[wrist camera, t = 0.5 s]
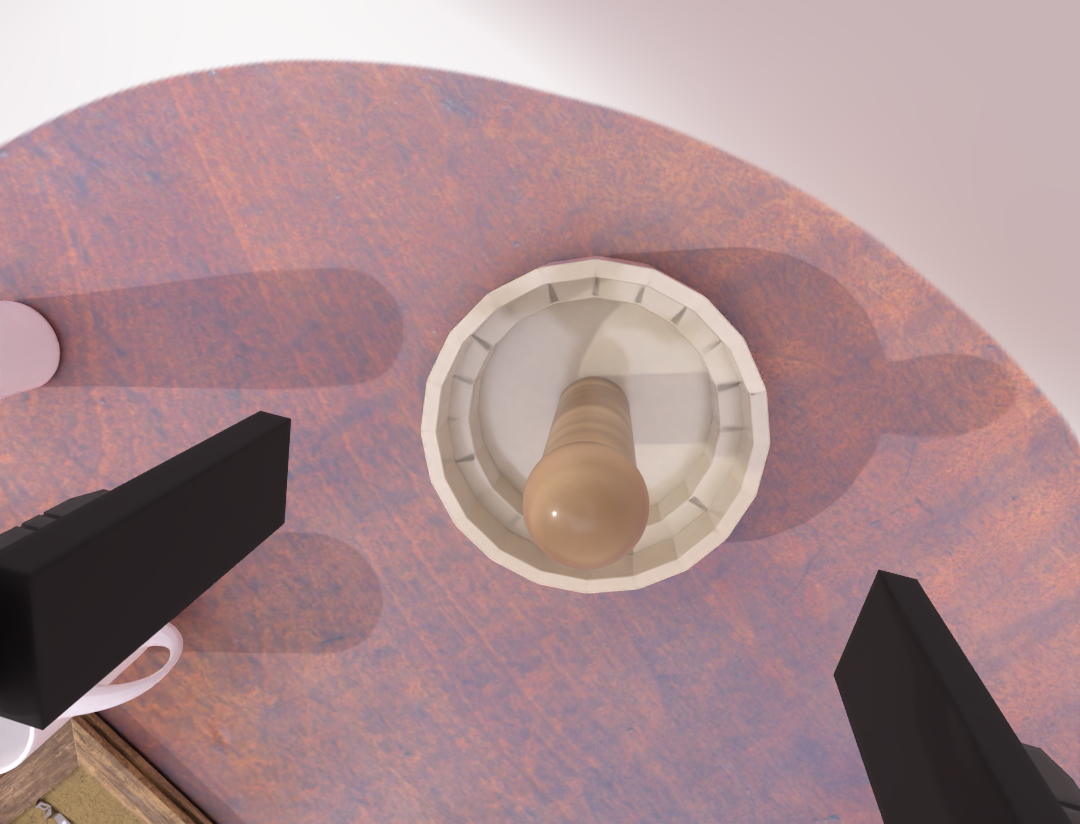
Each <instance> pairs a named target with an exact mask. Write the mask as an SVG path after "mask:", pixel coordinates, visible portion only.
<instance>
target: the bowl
mask: <svg viewBox="0 0 1080 824" xmlns="http://www.w3.org/2000/svg"><path fill="white" fill-rule="evenodd" d="M591 376H594V377H602V378H606V379H608V380H610V381H612V382H614V383H615V384H616V385H618V386H619V387H620V388H621V389H622V391H623V392H624V393H625V395H626V397H627V399H628V402H629V407H630V415H631V423H632V431H633V440H634V448H635V456H636V464H637V468H638V469H639V471H640V473H641V475H642V476H643V478H644V481H645V483H646V486H647V490H648V494H649V517H648V522H647V525H646V528H645V531H644V533H643V535H642V537H641V539H640V540H639V542H638V543H637V545H636V546H635V547H634V548H633V549H632V550H631V551H630V552H629V553H628V554H627V555H626V556H625V557H623V558H622V559H620V560H619V561H617V562H615V563H613V564H610V565H608V566H604V567H601V568H596V569H577V568H572V567H568V566H565V565H563V564H560V563H558V562H556V561H555V560H553V559H551V558H550V557H548V556H547V555H546V554H545V553H543V552H542V551H541V550H540V549H539V548H538V546H537V545H536V544H535V542H534V541H533V539H532V538H531V536H530V534H529V532H528V530H527V528H526V525H525V521H524V517H523V510H522V500H523V492H524V488H525V484H526V482H527V479H528V477H529V475H530V473H531V472H532V470H533V468H534V467H535V466H536V464H537V463H538V462H539V461H540V460H541V459H542V456H543V452H544V449H545V446H546V442H547V439H548V436H549V432H550V429H551V425H552V422H553V419H554V415H555V412H556V409H557V405H558V402H559V399H560V397H561V395H562V393H563V392H564V390H565V389H566V388H567V387H568V386H569V385H570V384H572V383H573V382H575V381H576V380H579V379H581V378H585V377H591ZM421 437H422V442H423V447H424V452H425V456H426V461H427V466H428V471H429V476H430V481H431V483H432V485H433V486H434V488H435V490H436V492H437V494H438V495H439V497H440V499H441V501H442V502H443V504H444V506H445V508H446V510H447V511H448V513H449V515H450V517H451V519H452V520H453V522H454V524H455V525H456V527H457V528H458V529H459V530H460V531H461V532H463V533H464V534H465V535H466V536H467V537H468V538H469V539H470V540H471V541H472V542H473V543H474V544H475V545H476V546H477V547H478V548H479V549H480V550H481V551H482V552H483V553H484V554H485V555H487V556H488V557H489V558H490V559H491V560H492V561H494V562H496V563H498V564H500V565H502V566H504V567H506V568H507V569H509V570H511V571H513V572H515V573H517V574H519V575H521V576H523V577H525V578H527V579H529V580H531V581H533V582H534V583H537V584H540V585H545V586H550V587H555V588H560V589H565V590H570V591H575V592H580V593H585V594H586V593H600V592H612V591H624V590H636V589H640V588H643V587H645V586H648V585H651V584H653V583H656V582H658V581H661V580H664V579H666V578H669V577H671V576H674V575H677V574H679V573H682V572H684V571H686V570H688V569H689V568H691V567H692V566H693V565H694V564H696V563H697V562H698V561H699V560H701V559H702V558H703V557H705V556H706V555H707V554H708V553H710V552H711V551H712V550H713V549H715V548H716V547H717V546H719V545H720V544H721V543H722V542H724V541H725V540H726V539H727V538H728V537H729V535H730V534H731V532H732V531H733V529H734V528H735V526H736V525H737V523H738V522H739V520H740V519H741V517H742V516H743V514H744V513H745V511H746V510H747V508H748V507H749V506H750V504H751V503H752V501H753V500H754V498H755V497H756V495H757V491H758V488H759V484H760V480H761V477H762V473H763V470H764V466H765V462H766V459H767V455H768V451H769V448H770V430H769V416H768V401H767V391H766V387H765V385H764V383H763V380H762V378H761V376H760V373H759V371H758V369H757V366H756V364H755V362H754V359H753V357H752V355H751V352H750V350H749V348H748V346H747V343H746V341H745V340H744V338H743V337H742V335H741V334H740V333H739V332H738V331H737V330H736V329H735V328H734V327H733V326H732V325H731V324H730V322H729V321H728V320H727V319H726V318H725V317H724V316H723V315H722V314H721V313H720V312H719V310H718V309H717V308H716V307H715V306H714V305H713V304H712V303H711V302H710V301H709V300H708V299H707V297H705V296H704V295H702V294H701V293H699V292H698V291H696V290H695V289H693V288H691V287H690V286H688V285H686V284H684V283H682V282H680V281H679V280H677V279H675V278H673V277H671V276H669V275H667V274H666V273H664V272H662V271H660V270H658V269H656V268H655V267H653V266H651V265H648V264H645V263H639V262H633V261H628V260H622V259H616V258H610V257H605V256H590V257H583V258H577V259H570V260H564V261H557V262H550V263H547V264H545V265H542V266H540V267H538V268H536V269H534V270H532V271H531V272H529V273H527V274H525V275H523V276H521V277H519V278H517V279H515V280H513V281H511V282H509V283H507V284H505V285H503V286H501V287H499V288H497V289H495V290H493V291H491V292H489V293H488V294H487V295H486V296H485V297H484V298H483V299H482V300H481V301H480V302H479V303H478V304H477V305H476V306H475V307H474V308H473V309H472V310H471V311H470V312H469V313H468V314H467V315H466V316H465V317H464V318H463V319H462V320H461V321H460V322H459V323H458V324H457V325H456V326H455V327H454V328H453V329H452V330H451V332H450V333H449V335H448V337H447V339H446V341H445V343H444V345H443V347H442V349H441V351H440V353H439V355H438V358H437V360H436V362H435V364H434V366H433V368H432V370H431V372H430V374H429V376H428V378H427V382H426V390H425V398H424V407H423V415H422V423H421Z"/></svg>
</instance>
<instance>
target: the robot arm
mask: <svg viewBox="0 0 1080 824" xmlns="http://www.w3.org/2000/svg"><path fill="white" fill-rule="evenodd" d="M290 427H291V419H290V418H286V417H282V416H278V415H274V414H270V413H266V412H262V411H259V412H257V413H255V414H254V415H252V416H250V417H248V418H246V419H244V420H242V421H240V422H239V423H237V424H235V425H233V426H231V427H229V428H227V429H225V430H224V431H222V432H220V433H218V434H216V435H214V436H212V437H210V438H209V439H207V440H205V441H203V442H201V443H199V444H197V445H195V446H194V447H192V448H190V449H188V450H186V451H184V452H182V453H180V454H179V455H177V456H175V457H173V458H171V459H169V460H167V461H165V462H164V463H162V464H160V465H158V466H156V467H154V468H152V469H150V470H149V471H147V472H145V473H143V474H141V475H139V476H137V477H135V478H134V479H132V480H130V481H128V482H126V483H124V484H122V485H120V486H119V487H117V488H115V489H113V490H111V491H108V490H104V489H103V490H100V491H96V492H92V493H89V494H85V495H82V496H78V497H74V498H71V499H69V500H67V501H65V502H63V503H61V504H59V505H57V506H55V507H53V508H51V509H49V510H47V511H45V512H44V514H43V515H38V516H36V517H34V518H32V519H30V520H28V521H26V522H24V523H22V526H21V527H18V526H16V527H14V528H12V529H10V530H8V531H6V532H4V533H2V534H0V717H3V718H6V719H9V720H12V721H15V722H18V723H21V724H25V725H28V726H31V727H34V728H37V729H40V730H44V729H45V728H46V727H48V726H49V725H50V724H51V723H52V722H53V721H55V720H56V719H57V718H58V717H59V716H60V715H62V714H63V713H64V712H65V711H66V710H67V709H69V708H70V707H71V706H72V705H73V704H74V703H75V702H77V701H78V700H79V699H80V698H81V697H82V696H84V695H85V694H86V693H87V692H88V691H89V690H91V689H92V688H93V687H94V686H95V685H96V684H98V683H99V682H100V681H101V680H102V679H103V678H105V677H106V676H107V675H108V674H109V673H110V672H112V671H113V670H114V669H115V668H116V667H117V666H119V665H120V664H121V663H122V662H123V661H124V660H126V659H127V658H128V657H129V656H130V655H131V654H133V653H134V652H135V651H136V650H137V649H138V648H140V647H141V646H142V645H143V644H144V643H145V642H147V641H148V640H149V639H150V638H151V637H152V636H154V635H155V634H156V633H157V632H158V631H159V630H161V629H162V628H163V627H164V626H165V625H166V624H168V623H169V622H170V621H171V620H172V619H173V618H175V617H176V616H177V615H178V614H179V613H180V612H182V611H183V610H184V609H185V608H186V607H187V606H189V605H190V604H191V603H192V602H193V601H194V600H196V599H197V598H198V597H199V596H200V595H201V594H203V593H204V592H205V591H206V590H207V589H208V588H210V587H211V586H212V585H213V584H214V583H215V582H217V581H218V580H219V579H220V578H221V577H222V576H224V575H225V574H226V573H227V572H228V571H229V570H230V569H232V568H233V567H234V566H235V565H236V564H237V563H239V562H240V561H241V560H242V559H243V558H244V557H246V556H247V555H248V554H249V553H250V552H251V551H253V550H254V549H255V548H256V547H257V546H258V545H260V544H261V543H262V542H263V541H264V540H265V539H267V538H268V537H269V536H270V535H271V534H272V533H274V532H275V531H276V530H277V529H278V528H279V527H281V526H282V525H283V524H284V523H285V507H286V491H287V475H288V459H289V443H290ZM834 677H835V680H836V683H837V686H838V689H839V692H840V695H841V698H842V701H843V704H844V707H845V710H846V713H847V716H848V719H849V722H850V725H851V728H852V730H853V733H854V736H855V739H856V742H857V745H858V748H859V751H860V754H861V757H862V760H863V763H864V766H865V769H866V772H867V775H868V778H869V781H870V784H871V787H872V789H873V792H874V795H875V798H876V801H877V804H878V807H879V810H880V813H881V816H882V819H883V822H884V824H1080V789H1079V788H1078V786H1077V785H1076V783H1075V782H1074V780H1073V779H1072V778H1071V777H1070V776H1069V775H1068V774H1067V773H1066V772H1065V771H1064V770H1063V769H1062V768H1061V767H1059V766H1058V765H1057V764H1056V763H1055V762H1054V761H1053V760H1052V759H1051V758H1050V757H1049V756H1048V755H1047V754H1046V753H1045V752H1044V751H1043V750H1042V749H1041V748H1037V747H1034V746H1030V745H1027V744H1023V743H1021V742H1020V741H1019V739H1018V737H1017V736H1016V734H1015V733H1014V731H1013V730H1012V728H1011V726H1010V725H1009V723H1008V722H1007V720H1006V719H1005V717H1004V715H1003V714H1002V712H1001V711H1000V709H999V708H998V706H997V704H996V703H995V701H994V700H993V698H992V697H991V695H990V693H989V692H988V690H987V689H986V687H985V686H984V684H983V683H982V681H981V679H980V678H979V676H978V675H977V673H976V672H975V670H974V668H973V667H972V665H971V664H970V662H969V661H968V659H967V657H966V656H965V654H964V653H963V651H962V650H961V648H960V646H959V645H958V643H957V642H956V640H955V639H954V637H953V635H952V634H951V632H950V631H949V629H948V628H947V626H946V624H945V623H944V621H943V620H942V618H941V617H940V615H939V613H938V612H937V610H936V609H935V607H934V606H933V604H932V603H931V601H930V599H929V598H928V596H927V595H926V593H925V592H924V590H923V588H922V587H921V585H920V584H919V582H918V581H917V579H913V578H909V577H905V576H901V575H897V574H894V573H890V572H886V571H882V570H878V572H877V575H876V577H875V579H874V582H873V584H872V586H871V589H870V591H869V593H868V596H867V598H866V600H865V603H864V605H863V607H862V610H861V612H860V614H859V617H858V619H857V621H856V624H855V626H854V628H853V631H852V633H851V635H850V638H849V640H848V642H847V645H846V647H845V649H844V652H843V654H842V656H841V659H840V661H839V663H838V666H837V668H836V670H835V673H834Z"/></svg>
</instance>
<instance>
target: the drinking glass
mask: <svg viewBox="0 0 1080 824" xmlns="http://www.w3.org/2000/svg"><path fill="white" fill-rule="evenodd" d="M59 360H60V347H59V343H58V339H57V336H56V334H55V332H54V330H53V328H52V327H51V325H50V324H49V323H48V321H47V320H46V319H45V318H44V317H43V316H42V315H41V314H40V313H38V312H37V311H36V310H34V309H32V308H31V307H29V306H27V305H24V304H22V303H19V302H14V301H4V300H2V301H0V399H3V398H6V397H9V396H11V395H15V394H18V393H22V392H26V391H29V390H33V389H36V388H38V387H40V386H42V385H44V384H45V383H46V382H48V381H49V380H50V379H51V378H52V377H53V375H54V374H55V372H56V370H57V368H58V365H59Z"/></svg>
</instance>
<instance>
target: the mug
mask: <svg viewBox="0 0 1080 824" xmlns="http://www.w3.org/2000/svg"><path fill="white" fill-rule="evenodd" d="M149 646H164V647H167V648H168V649H169V650H170V658H169V660H168V662H167V663H166V665H165V666H164V667H163V668H162V669H160V670H159V671H157V672H156V673H154V674H152V675H150V676H148V677H146V678H143V679H140V680H138V681H134V682H130V683H124V684H118V685H108V684H109V683H110V682H112V681H113V680H114V679H115V678H116V677H117V676H118V675H119V674H120V673H122V672H123V671H124V670H125V669H126V668H127V667H128V666H129V665H130V664H131V663H133V662H134V661H135V660H136V659H137V658H138V657H139V656H140V655H141V654H142V653H143V652H144V651H145V650H146V649H147V648H148V647H149ZM182 650H183V639H182V636H181V634H180V632H179V631H178V630H177V629H176V627H175V626H173V625H172V624H171V623H170V622H169V623H168V624H166V625H165V626H164V627H163V628H162V629H161V630H159V631H158V632H157V633H156V634H155V635H154V636H152V637H151V638H150V639H149V640H148V641H147V642H145V643H144V644H143V645H142V646H141V647H140V648H138V649H137V650H136V651H135V652H134V653H133V654H131V655H130V656H129V657H128V658H127V659H126V660H124V661H123V662H122V663H121V664H120V665H119V666H117V667H116V668H115V669H114V670H113V671H112V672H110V673H109V674H108V675H107V676H106V677H105V678H103V679H102V680H101V681H100V682H99V683H98V684H96V685H95V686H94V687H93V688H92V689H91V690H89V691H88V692H87V693H86V694H85V695H84V696H82V697H81V698H80V699H79V700H78V701H77V702H75V703H74V704H73V705H72V706H71V707H70V708H69V709H67V710H66V711H65V712H64V713H63V714H62V715H60V716H59V717H58V718H57V719H56V720H55V721H53V722H52V723H51V724H50V725H49V726H48V727H46V728H45V729H44V730H40V729H37V728H34V727H31V726H28V725H25V724H21V723H18V722H15V721H12V720H9V719H6V718H3V717H0V774H2V773H5V772H8V771H10V770H12V769H14V768H15V767H17V766H18V765H19V764H21V763H22V762H23V761H24V760H25V759H26V758H27V757H29V756H30V755H31V754H32V753H33V752H34V751H35V750H36V749H37V748H39V747H40V746H41V745H42V744H43V743H44V742H45V741H46V740H47V739H49V738H50V737H51V736H52V735H53V734H54V733H55V732H56V731H57V730H58V729H60V728H61V727H62V726H63V725H64V724H65V723H66V722H67V721H68V720H70V719H71V718H72V717H73V716H77V715H83V714H88V713H92V712H97V711H101V710H105V709H108V708H111V707H114V706H117V705H119V704H122V703H124V702H127V701H129V700H131V699H133V698H135V697H137V696H139V695H141V694H142V693H144V692H145V691H147V690H148V689H150V688H151V687H153V686H154V685H155V684H156V683H158V682H159V681H160V680H161V679H162V678H163V677H164V676H165V675H166V674H167V673H168V672H169V671H170V670H171V669H172V668H173V666H174V665H175V664H176V662H177V661H178V659H179V657H180V655H181V653H182Z"/></svg>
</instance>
